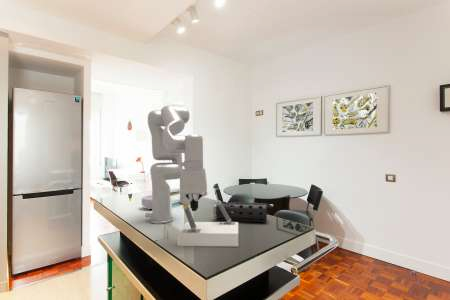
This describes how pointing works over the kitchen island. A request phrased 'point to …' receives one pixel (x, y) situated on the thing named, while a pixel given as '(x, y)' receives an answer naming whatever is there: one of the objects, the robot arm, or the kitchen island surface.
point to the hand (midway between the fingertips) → (194, 210)
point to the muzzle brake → (242, 211)
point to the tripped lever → (189, 217)
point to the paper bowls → (147, 202)
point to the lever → (224, 211)
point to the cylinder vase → (184, 199)
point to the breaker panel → (209, 234)
